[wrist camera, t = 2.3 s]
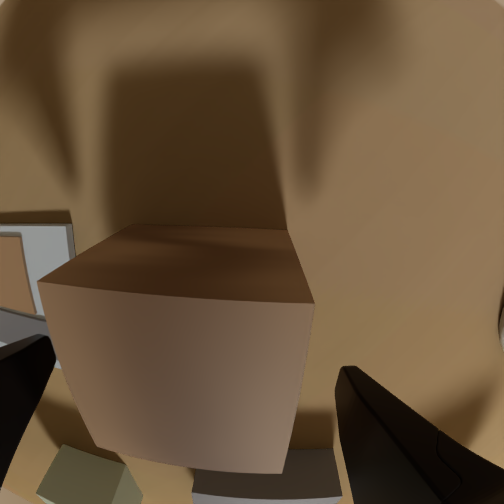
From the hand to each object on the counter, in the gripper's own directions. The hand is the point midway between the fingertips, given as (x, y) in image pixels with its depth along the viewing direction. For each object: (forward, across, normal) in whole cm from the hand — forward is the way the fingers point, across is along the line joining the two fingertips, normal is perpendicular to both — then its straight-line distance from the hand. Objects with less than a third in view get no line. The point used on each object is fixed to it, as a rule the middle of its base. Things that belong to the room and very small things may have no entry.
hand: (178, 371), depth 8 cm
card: (+4, +11, +1) cm, 12 cm away
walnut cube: (+4, 0, 0) cm, 5 cm away
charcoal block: (+5, -3, +14) cm, 15 cm away
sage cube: (+5, +10, +18) cm, 21 cm away
